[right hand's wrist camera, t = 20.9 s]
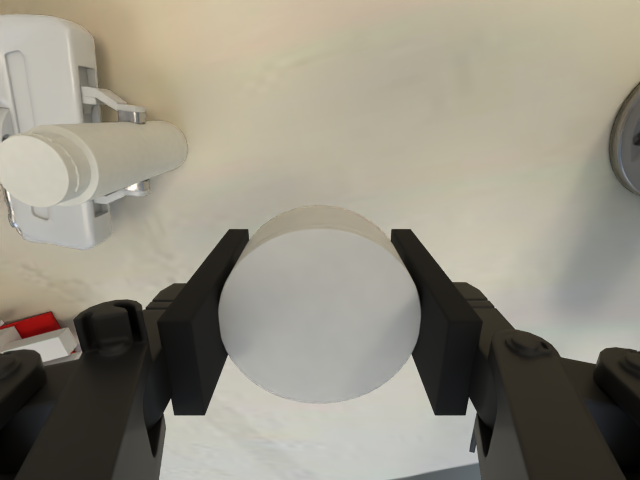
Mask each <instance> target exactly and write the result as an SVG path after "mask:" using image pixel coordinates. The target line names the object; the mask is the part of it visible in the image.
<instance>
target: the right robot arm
mask: <svg viewBox="0 0 640 480" xmlns="http://www.w3.org/2000/svg"><path fill="white" fill-rule="evenodd" d="M610 161H611V165H612V168H613V171H614V173H615V175H616V177H617V178H618V180H619V181H620V182H621V184H622V185H623V186H624V187H626V188H627V189H628V190H630V191H631V192H633V193H635V194H637V195H639V196H640V84H639V85H638V86H637V87H636V88H635V89H634V90H633V92H632V93H631V94H630V95H629V97H628V98H627V100H626V101H625V103H624V104H623V106H622V108H621V109H620V111H619V114H618V116H617V118H616V120H615V123H614V126H613V129H612V133H611V138H610ZM248 241H249V233H248V229H229V230H228V232H227V233H226V234H225V235H224V237H223V238H222V239H221V240H220V242H219V243H218V244H217V246H216V247H215V248H214V249H213V251H212V252H211V253H210V254H209V256H208V257H207V258H206V259H205V261H204V262H203V263H202V265H201V266H200V267H199V268H198V270H197V271H196V272H195V273H194V275H193V276H192V277H191V279H190V280H189V281H188V282H187V283H174V284H172V285H170V286H169V287H167V288H165V289H164V290H162V291H160V292H159V294H158V295H157V296H156V297H155V298H154V299H153V300H152V302H150V304H149V305H148V306H147V307H146V310H142V305H141V304H140V303H138V302H137V301H133V300H114V301H109V302H104V303H101V304H98V305H95V306H93V307H90V308H88V309H86V310H85V311H83V312H81V313H80V314H79V315H78V316H77V317H75V318H74V319H73V321H74V325H75V328H76V332H77V335H78V339H79V342H80V346H81V349H82V354H81V356H80V358H79V359H76V360H72V361H67V362H62V363H56V364H51V365H46V366H44V364H43V361H42V358H41V355H40V354H39V353H38V352H37V351H35V350H29V349H21V350H14V351H7V352H4V353H0V480H159V474H160V467H161V460H162V453H163V446H164V438H165V431H166V425H165V419H164V414H163V412H164V410H165V408H166V407H167V405H168V403H169V401H170V399H171V400H172V405H173V411H174V415H205V413H206V411H207V408H208V405H209V403H210V400H211V398H212V395H213V392H214V390H215V387H216V385H217V382H218V379H219V377H220V374H221V371H222V369H223V366H224V364H225V361H226V358H227V356H228V353H227V351H226V349H225V347H224V344H223V342H222V339H221V333H220V325H219V316H218V305H219V301H220V296H221V292H222V290H223V287H224V284H225V282H226V280H227V279H228V277H229V275H230V273H231V271H232V270H233V268H234V266H235V264H236V263H237V261H238V259H239V257H240V255H241V254H242V252H243V250H244V248H245V246H246V245H247V243H248ZM391 243H392V244H393V246H394V247H395V249H396V251H397V253H398V255H399V256H400V258H401V260H402V262H403V263H404V265H405V267H406V269H407V271H408V272H409V274H410V276H411V278H412V280H413V282H414V284H415V286H416V289H417V292H418V295H419V299H420V304H421V322H420V330H419V336H418V339H417V343H416V345H415V347H414V349H413V352H412V356H413V359H414V362H415V364H416V367H417V369H418V372H419V375H420V377H421V380H422V382H423V385H424V388H425V390H426V393H427V396H428V398H429V401H430V403H431V406H432V409H433V411H434V414H435V415H466V410H467V404H468V399H469V398H470V399H471V401H472V403H473V405H474V407H475V409H476V411H477V414H476V419H475V424H474V429H473V434H472V438H471V443H470V451H469V452H473V453H474V452H475V447H476V445H477V452H478V459H479V466H480V473H481V480H640V351H639V352H637V350H632V349H624V348H617V347H614V348H606V349H604V350H603V351H601V352H600V354H599V357H598V360H597V363H596V364H592V363H587V362H582V361H576V360H571V359H566V358H562V357H560V355H559V353H558V352H557V350H556V349H555V348H554V347H553V346H552V345H551V344H550V343H549V342H547V341H546V340H544V339H543V338H541V337H538V336H536V335H534V334H531V333H529V332H524V331H520V330H515V329H514V328H513V327H512V325H511V324H510V323H509V322H508V321H507V320H506V319H505V318H504V317H503V315H502V314H501V313H500V312H499V311H498V310H497V309H496V308H494V306H493V304H492V303H491V302H490V301H488V300H487V298H486V297H485V296H484V295H483V293H482V292H481V291H480V290H479V289H477V288H475V287H473V286H472V285H470V284H468V283H466V282H452V281H451V280H450V279H449V278H448V276H447V275H446V274H445V272H444V271H443V270H442V269H441V267H440V266H439V265H438V264H437V262H436V261H435V260H434V259H433V257H432V256H431V255H430V253H429V252H428V251H427V250H426V248H425V247H424V246H423V245H422V243H421V242H420V241H419V239H418V238H417V237H416V236H415V234H414V233H413V232H412V231H411V229H392V231H391Z"/></svg>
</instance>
